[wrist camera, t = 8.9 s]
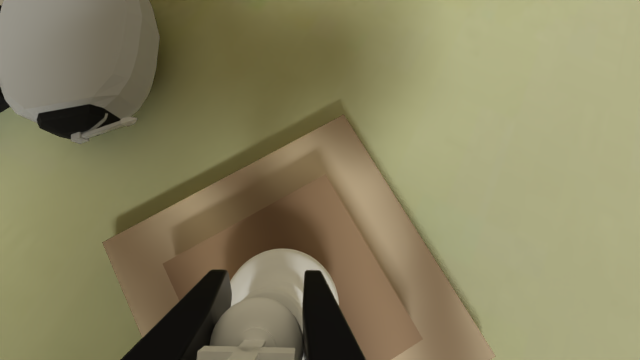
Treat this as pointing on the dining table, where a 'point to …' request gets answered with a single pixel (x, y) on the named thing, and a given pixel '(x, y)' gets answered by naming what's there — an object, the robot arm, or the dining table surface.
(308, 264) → the chess piece
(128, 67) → the robot toy
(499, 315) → the dining table surface
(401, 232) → the pedestal
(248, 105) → the dining table surface
